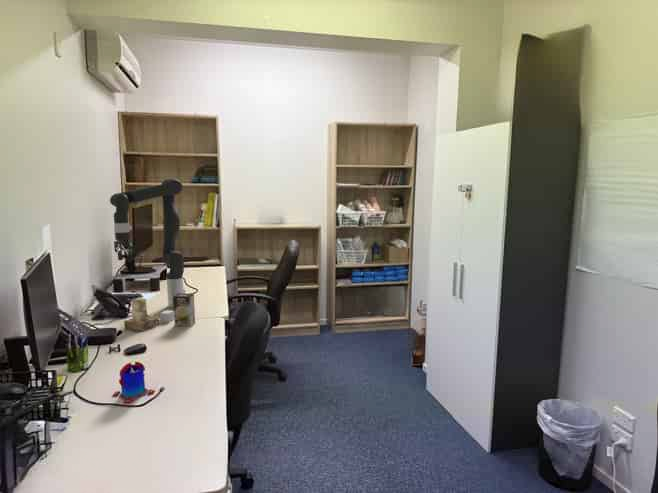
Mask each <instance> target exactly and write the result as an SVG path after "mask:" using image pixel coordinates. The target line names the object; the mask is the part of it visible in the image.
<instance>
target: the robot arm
mask: <svg viewBox="0 0 658 493" xmlns="http://www.w3.org/2000/svg"><path fill="white" fill-rule="evenodd" d="M182 191H183V184H182V182H181V181H180V180H178V179H176V178H166V179H164V180H163V181H162V182H161V184H158V185H154V186H147V187H140V188H136V189H132V190H129V191H122V192H117V193H114V194H113V195H111V196H110V198H109V202H110V204H111V205H112V206H113V207H115V212H114V213H113V222H114V226H113V228H114V237H115V238H114V239H115V241H114V240H113V241H114V242H113V243H114V244H113V246H114V247H113V248H114V252H115V253H116V254H117V258H118V259H117V260H118V261H123V260H124V259H123V251H124V252H125V253H126V257H127V258H126V259H127V262H133V256H132V255H133V254H135V249H134V247H135V246H134V242H130V240H131V239H132V238H131V228H130V223H129V222H130V220H129V210H130V204H137V203H140V202H145V201H149V200H151V199H156V198H159V197H162V212H163V213H162V217H163V218H162V220H163V221H162V222H163V223H162V224H163V225H162V226H163V247H162V262H163V264H164V265H166V266H167V267H169V271H168V272H167V273H166V276H165V278H166V290H167V291H166V292H167V306H168V308H171V309H172V308H173V309H174V302H173V296H175V295H176V294H178V293H186V289H185V288H184V276H183V275H184V272H185V268H184V267H185V261H184V260H185V259H184V255H183V253H182V252H181V251H176V240H177V237H178V235H179V233H180V230H181V229H180V228H181V218H180V214H179V211H178V209H177V205H176V200H175V198H176V197H175V196H176V195H179V194H180V193H181V192H182Z"/></svg>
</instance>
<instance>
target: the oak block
mask: <svg viewBox="0 0 658 493" xmlns="http://www.w3.org/2000/svg"><path fill="white" fill-rule="evenodd" d="M130 300H131V301H130V302H131V303H130V304H131V313H132V318H133V321H137V322H141V321H144V320H147V316H148V310H147V309H148V308H147V298H145V297H142V296H141V297H140V296H139V297H137V298H132V299H130Z"/></svg>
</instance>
